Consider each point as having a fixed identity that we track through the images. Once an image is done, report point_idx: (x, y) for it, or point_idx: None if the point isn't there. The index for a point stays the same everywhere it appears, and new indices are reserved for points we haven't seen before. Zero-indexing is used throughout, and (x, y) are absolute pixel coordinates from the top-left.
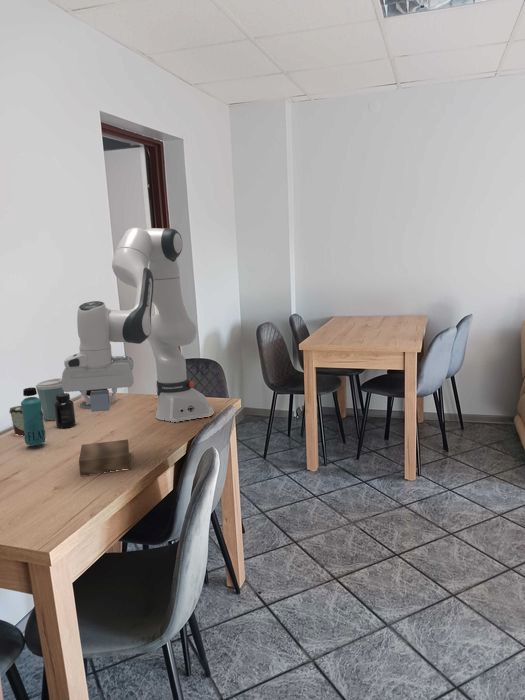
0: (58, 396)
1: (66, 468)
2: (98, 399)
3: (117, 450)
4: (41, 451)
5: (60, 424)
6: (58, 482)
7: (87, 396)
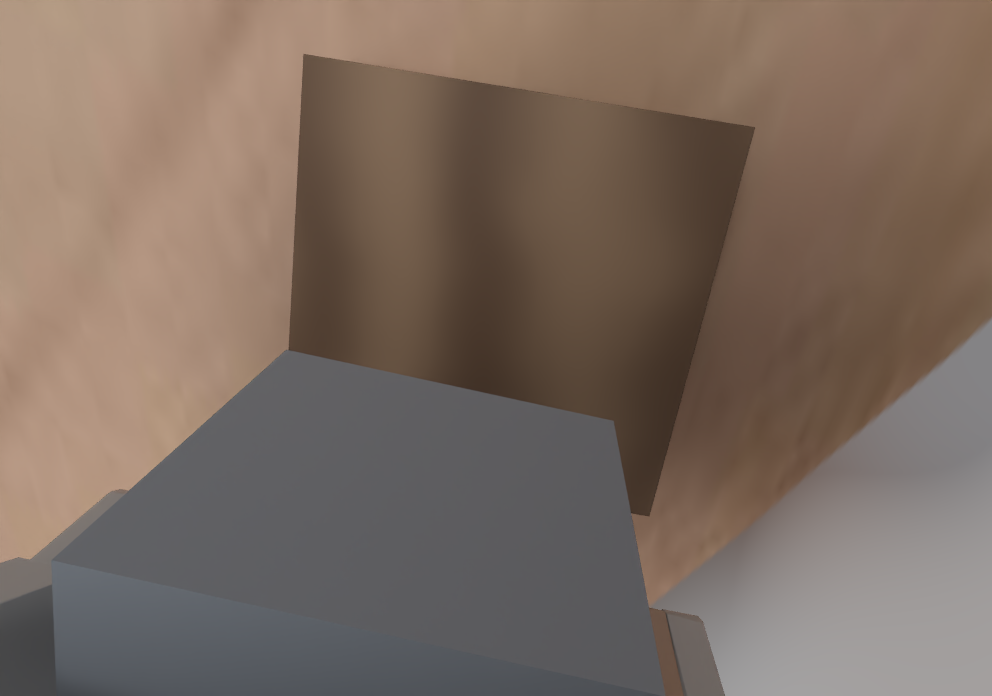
0: None
1: (229, 218)
2: None
3: (589, 380)
4: None
5: None
6: (197, 428)
7: (32, 611)
